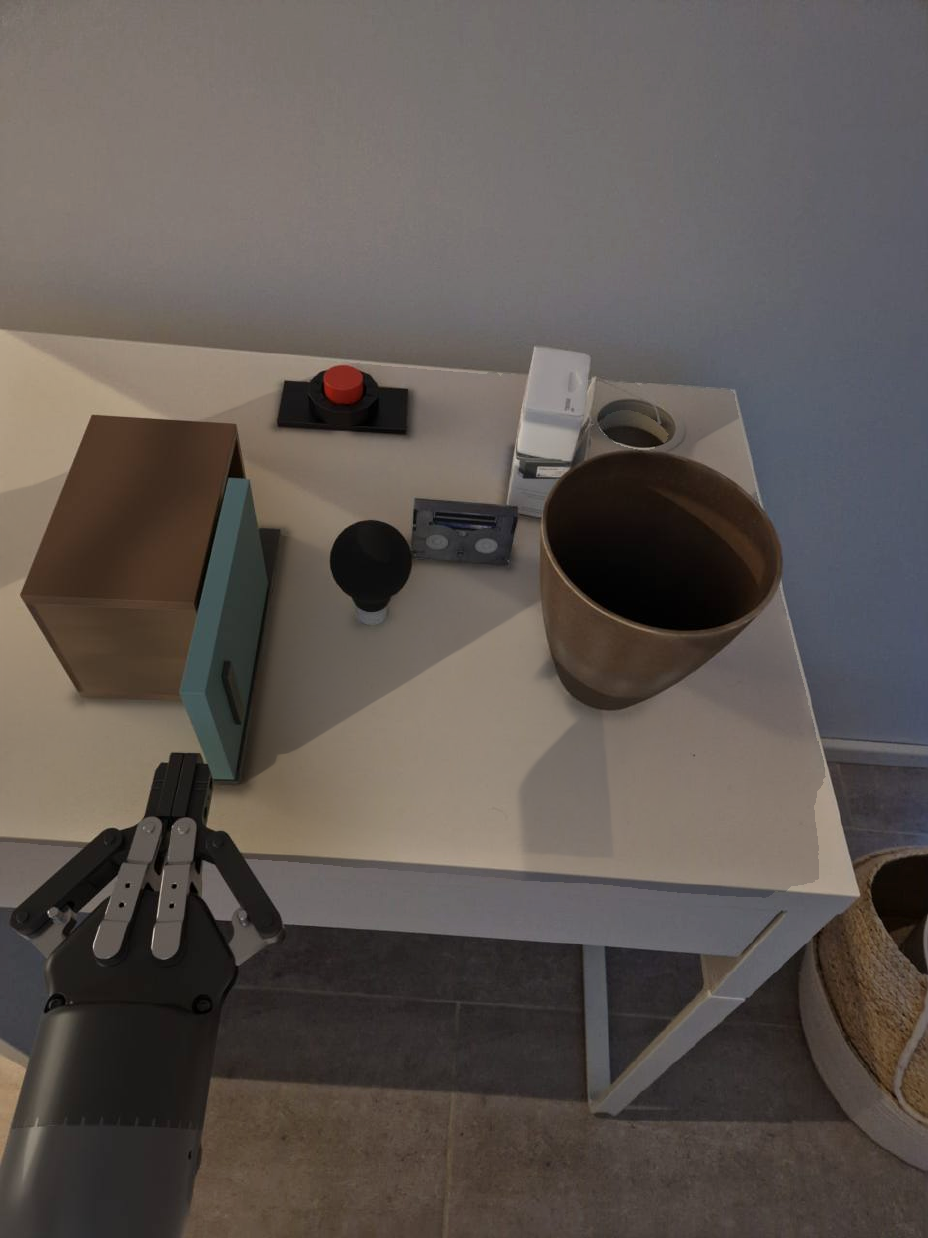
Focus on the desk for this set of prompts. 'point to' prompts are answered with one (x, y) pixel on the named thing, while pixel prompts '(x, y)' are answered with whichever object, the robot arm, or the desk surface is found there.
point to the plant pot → (649, 572)
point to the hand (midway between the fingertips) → (188, 759)
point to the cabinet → (137, 556)
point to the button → (343, 384)
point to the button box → (343, 408)
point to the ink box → (548, 426)
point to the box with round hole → (586, 440)
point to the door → (226, 633)
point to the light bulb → (371, 566)
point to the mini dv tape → (463, 531)
